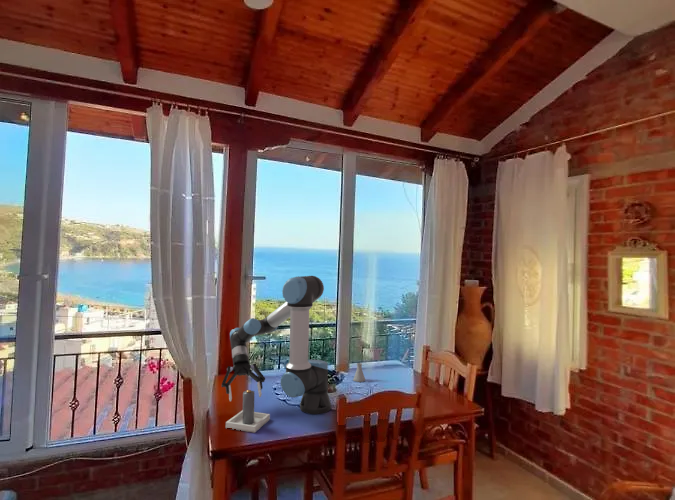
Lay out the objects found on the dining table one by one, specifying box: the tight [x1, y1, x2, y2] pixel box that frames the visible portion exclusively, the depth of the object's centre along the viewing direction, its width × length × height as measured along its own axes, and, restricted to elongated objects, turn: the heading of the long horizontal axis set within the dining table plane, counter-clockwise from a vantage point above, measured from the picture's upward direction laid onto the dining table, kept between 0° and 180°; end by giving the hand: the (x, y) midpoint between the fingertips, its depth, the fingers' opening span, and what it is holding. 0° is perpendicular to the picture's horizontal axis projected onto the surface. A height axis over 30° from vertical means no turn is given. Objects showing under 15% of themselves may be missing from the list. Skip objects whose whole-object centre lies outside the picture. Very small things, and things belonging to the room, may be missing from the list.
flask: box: [352, 362, 366, 383], centre depth 239 cm, size 7×7×10 cm
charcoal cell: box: [242, 389, 255, 425], centre depth 178 cm, size 5×5×14 cm
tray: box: [225, 409, 271, 434], centre depth 178 cm, size 14×14×2 cm
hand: (245, 397), depth 186 cm, fingers open, 13 cm apart
